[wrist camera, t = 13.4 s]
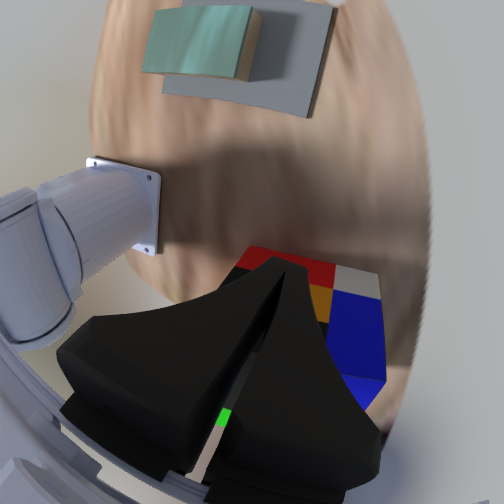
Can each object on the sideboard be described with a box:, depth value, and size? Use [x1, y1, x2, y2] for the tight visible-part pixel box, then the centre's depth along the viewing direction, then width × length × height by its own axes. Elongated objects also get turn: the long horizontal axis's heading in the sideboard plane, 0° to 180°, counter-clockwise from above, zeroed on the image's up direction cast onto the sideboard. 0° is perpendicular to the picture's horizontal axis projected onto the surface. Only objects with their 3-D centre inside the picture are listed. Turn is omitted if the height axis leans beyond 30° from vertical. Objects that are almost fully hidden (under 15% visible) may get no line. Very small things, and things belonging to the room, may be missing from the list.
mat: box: [162, 0, 333, 118], centre depth 14 cm, size 11×8×1 cm
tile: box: [141, 5, 263, 83], centre depth 14 cm, size 2×5×7 cm
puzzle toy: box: [215, 246, 387, 427], centre depth 18 cm, size 10×10×10 cm
